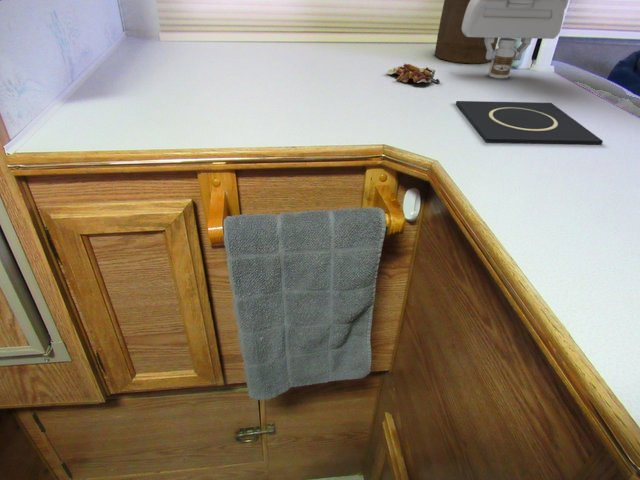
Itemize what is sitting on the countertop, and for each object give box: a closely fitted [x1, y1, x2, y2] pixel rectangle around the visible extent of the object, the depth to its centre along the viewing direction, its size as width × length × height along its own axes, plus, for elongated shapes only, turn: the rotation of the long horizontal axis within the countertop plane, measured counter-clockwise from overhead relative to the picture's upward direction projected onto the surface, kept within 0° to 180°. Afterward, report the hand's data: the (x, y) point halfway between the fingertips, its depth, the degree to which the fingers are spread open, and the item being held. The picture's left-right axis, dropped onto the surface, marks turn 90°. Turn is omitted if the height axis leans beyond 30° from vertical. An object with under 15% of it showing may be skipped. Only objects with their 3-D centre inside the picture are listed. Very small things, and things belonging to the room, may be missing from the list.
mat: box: [455, 100, 603, 145], centre depth 72 cm, size 18×18×1 cm
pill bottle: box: [488, 38, 517, 79], centre depth 94 cm, size 4×4×8 cm
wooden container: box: [434, 0, 499, 65], centre depth 104 cm, size 15×15×22 cm
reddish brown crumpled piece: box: [386, 62, 441, 84], centre depth 92 cm, size 7×12×4 cm, turn 42°
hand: (502, 59), depth 94 cm, fingers closed on pill bottle, 4 cm apart
